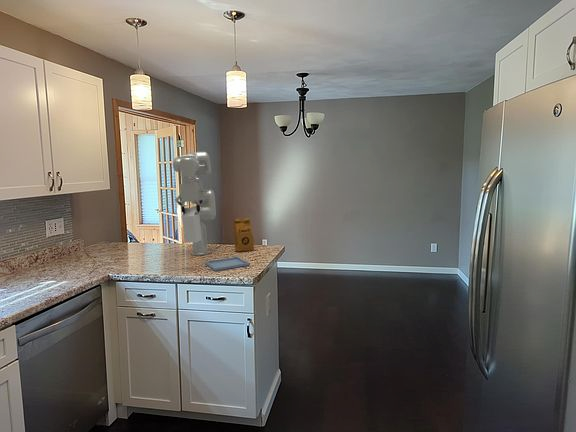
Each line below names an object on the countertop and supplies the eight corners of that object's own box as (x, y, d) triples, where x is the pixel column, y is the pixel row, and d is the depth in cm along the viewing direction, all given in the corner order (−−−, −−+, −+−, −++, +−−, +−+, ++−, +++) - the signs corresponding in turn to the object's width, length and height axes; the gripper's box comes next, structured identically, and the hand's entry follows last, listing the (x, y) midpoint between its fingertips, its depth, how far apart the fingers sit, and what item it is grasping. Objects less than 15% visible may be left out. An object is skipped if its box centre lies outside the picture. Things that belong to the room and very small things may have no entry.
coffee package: (255, 251, 259) (253, 218, 257) (236, 253, 256) (234, 219, 253) (252, 248, 269) (250, 216, 266) (234, 250, 265) (232, 218, 263)
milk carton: (196, 242, 214) (192, 208, 211) (184, 243, 216) (180, 208, 213) (201, 240, 221) (198, 206, 218) (190, 240, 223) (187, 207, 220)
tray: (205, 264, 228) (204, 261, 228) (237, 259, 237) (237, 256, 237) (215, 271, 210) (215, 268, 210) (249, 265, 219) (249, 262, 219)
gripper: (202, 179, 221) (204, 210, 223) (171, 181, 214) (173, 213, 216) (205, 179, 214) (208, 212, 217) (173, 181, 207) (176, 214, 209)
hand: (191, 212), depth 216 cm, fingers closed on milk carton, 7 cm apart
